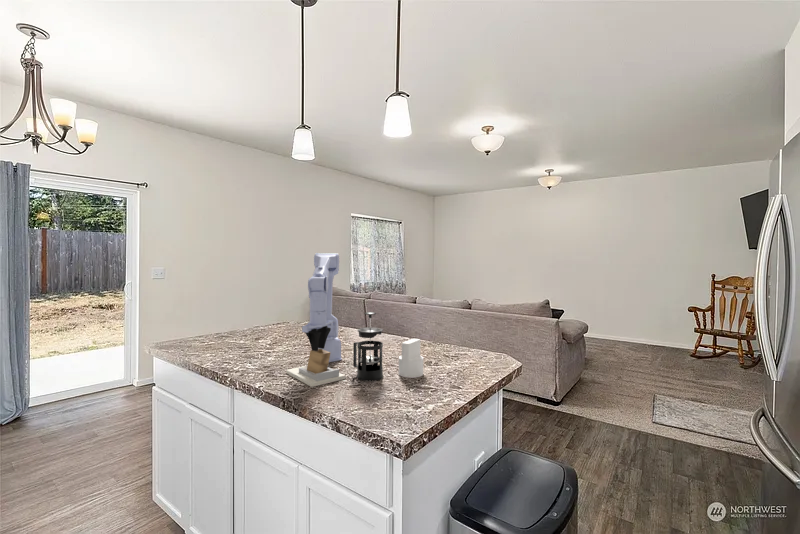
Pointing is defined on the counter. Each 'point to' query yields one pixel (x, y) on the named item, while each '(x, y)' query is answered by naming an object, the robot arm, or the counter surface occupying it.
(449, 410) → the counter surface
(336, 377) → the shallow rectangular tray
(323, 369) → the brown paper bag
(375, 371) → the french press
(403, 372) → the cylinder with rectangular tab
